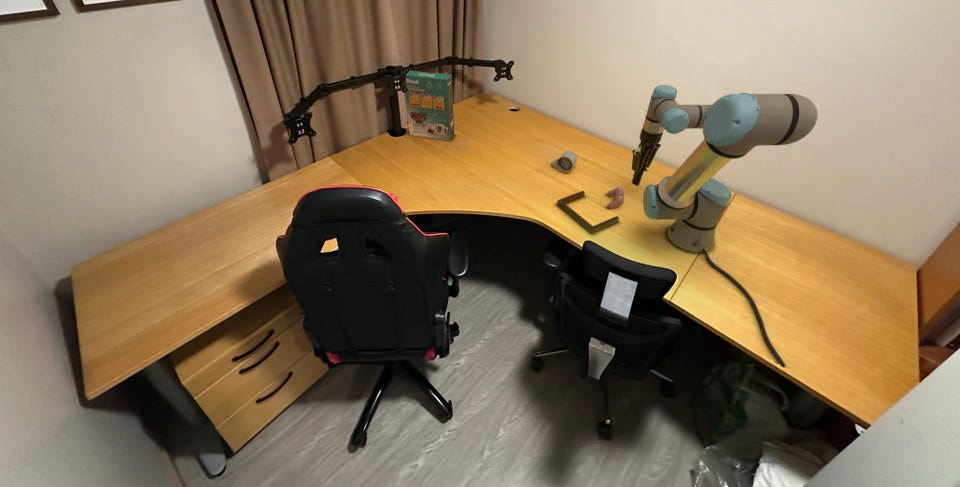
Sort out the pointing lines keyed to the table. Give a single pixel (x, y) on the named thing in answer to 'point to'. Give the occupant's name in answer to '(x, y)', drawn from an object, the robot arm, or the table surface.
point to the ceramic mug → (565, 161)
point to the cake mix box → (430, 105)
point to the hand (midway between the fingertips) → (635, 183)
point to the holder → (578, 218)
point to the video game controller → (616, 197)
